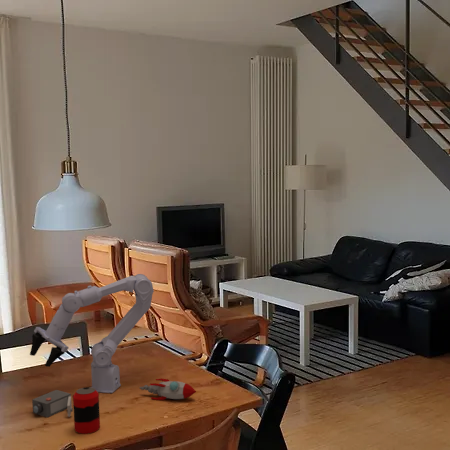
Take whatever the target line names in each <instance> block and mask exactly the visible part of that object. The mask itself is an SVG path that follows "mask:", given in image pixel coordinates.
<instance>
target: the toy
mask: <svg viewBox="0 0 450 450" xmlns="http://www.w3.org/2000/svg"><path fill="white" fill-rule="evenodd" d="M155 381H158V382H159V381H160V382H159V383H150V384H149V385H148V384H145V385H143V386H139V389H140V390H141V391H144V390H145V391H147V392H148V393H150V394H153V395H158V396H159V397H150V399H152V400H156V401H165V400H166V399H172V400H184V399H188V398H190V397H191V396H193V395H195V393H196V392H197V391H196V389H195V388H194V387H193V386H191V384H188V383H186V382H183V381H177V380H173V381H172V380H169V379H168V378H156V379H155Z"/></svg>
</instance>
